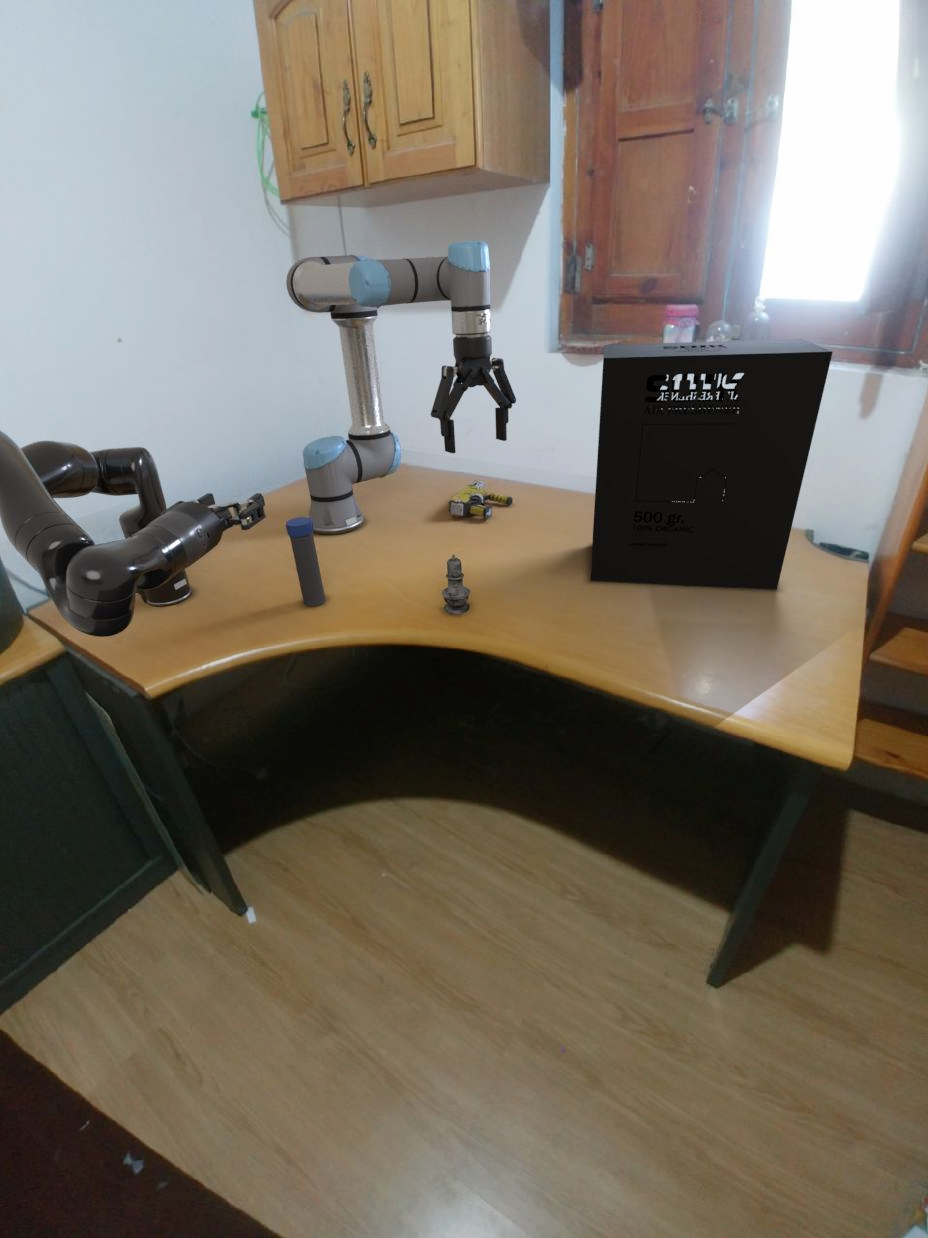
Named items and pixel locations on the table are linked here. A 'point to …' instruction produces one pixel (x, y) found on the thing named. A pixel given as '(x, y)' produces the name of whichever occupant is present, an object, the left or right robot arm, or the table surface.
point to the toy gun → (475, 501)
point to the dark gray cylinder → (308, 570)
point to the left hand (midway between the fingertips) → (236, 499)
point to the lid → (299, 527)
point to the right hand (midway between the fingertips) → (476, 445)
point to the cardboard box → (703, 460)
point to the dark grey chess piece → (455, 588)
